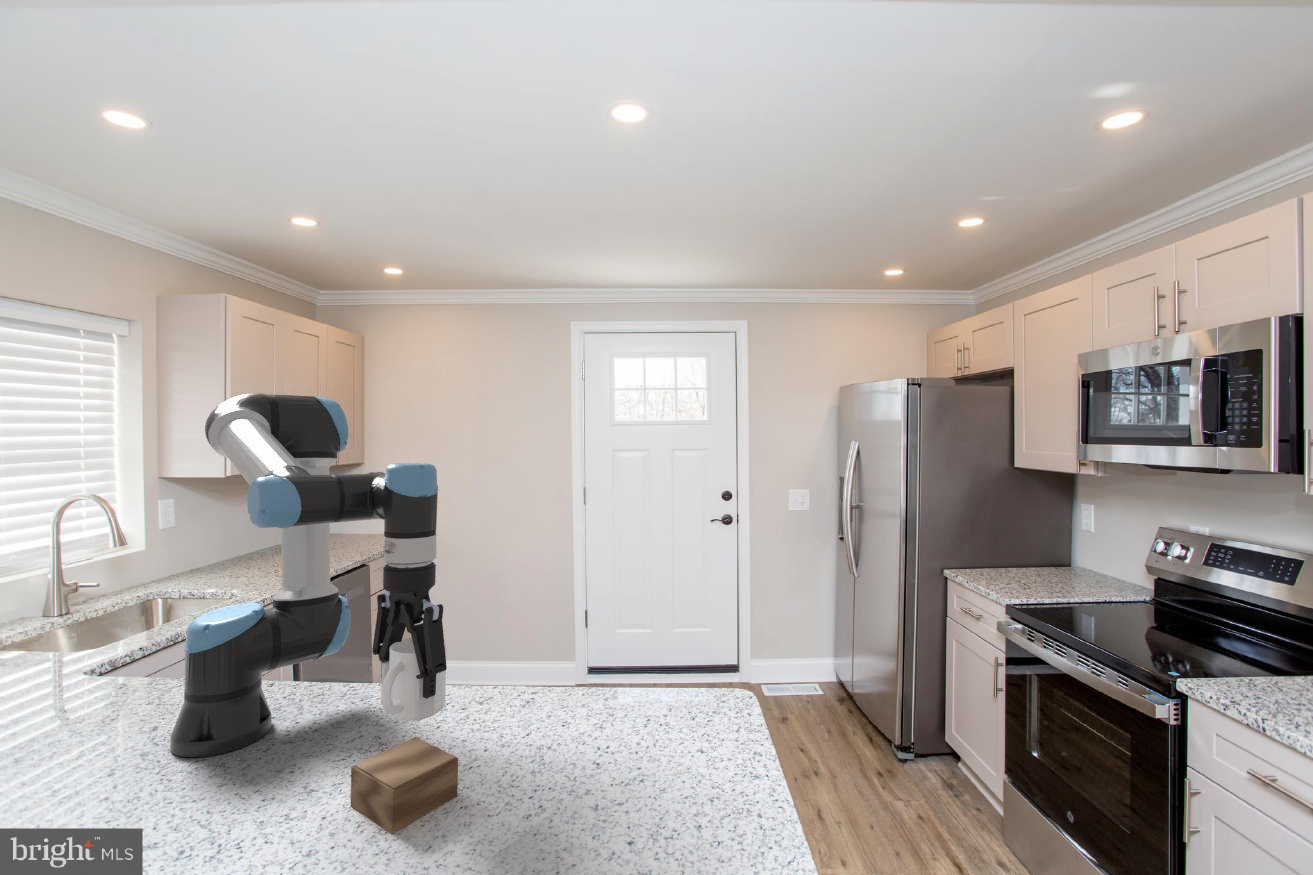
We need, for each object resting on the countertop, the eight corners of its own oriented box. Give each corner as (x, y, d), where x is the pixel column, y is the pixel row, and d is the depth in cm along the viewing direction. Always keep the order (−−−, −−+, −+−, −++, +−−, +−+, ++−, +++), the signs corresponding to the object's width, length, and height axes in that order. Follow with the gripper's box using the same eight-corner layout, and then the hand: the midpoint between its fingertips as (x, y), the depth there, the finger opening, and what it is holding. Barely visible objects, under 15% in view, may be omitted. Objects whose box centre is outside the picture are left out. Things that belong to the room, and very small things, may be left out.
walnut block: (350, 806, 89) (351, 764, 89) (415, 773, 98) (416, 735, 98) (392, 834, 83) (393, 789, 83) (457, 796, 92) (458, 755, 92)
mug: (405, 737, 83) (407, 664, 84) (357, 729, 86) (359, 658, 86) (455, 702, 95) (456, 638, 95) (412, 695, 97) (413, 633, 97)
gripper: (349, 558, 94) (346, 700, 93) (430, 576, 82) (427, 739, 82) (393, 551, 100) (390, 684, 100) (474, 567, 88) (471, 718, 88)
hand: (407, 709), depth 91 cm, fingers closed on mug, 8 cm apart
